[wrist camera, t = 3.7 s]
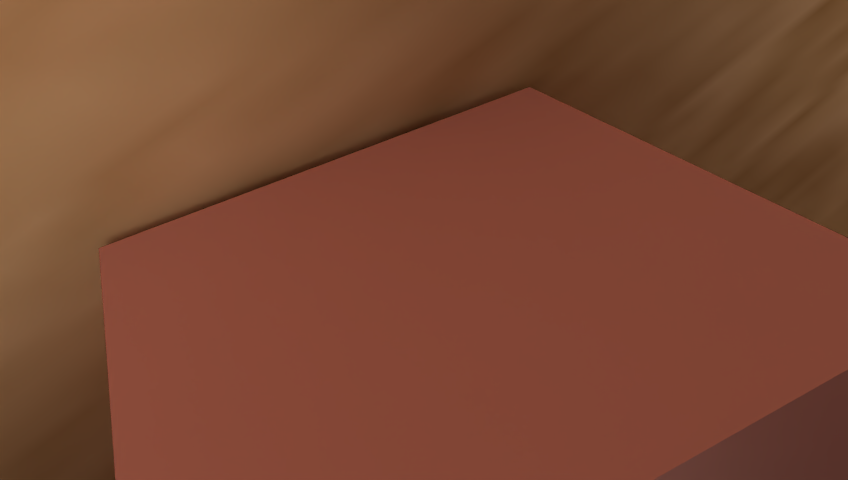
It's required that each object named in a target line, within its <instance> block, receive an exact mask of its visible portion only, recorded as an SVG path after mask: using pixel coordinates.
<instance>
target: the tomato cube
mask: <svg viewBox="0 0 848 480" xmlns="http://www.w3.org/2000/svg"><path fill="white" fill-rule="evenodd" d="M99 257H100V271H101V285H102V299H103V313H104V327H105V341H106V355H107V368H108V382H109V396H110V410H111V424H112V438H113V452H114V466H115V480H848V238H847V237H845V236H843V235H841V234H839V233H836V232H834V231H832V230H830V229H828V228H826V227H824V226H822V225H820V224H818V223H815V222H813V221H811V220H809V219H807V218H805V217H803V216H801V215H799V214H796V213H794V212H792V211H790V210H788V209H786V208H784V207H782V206H780V205H777V204H775V203H773V202H771V201H769V200H767V199H765V198H763V197H761V196H758V195H756V194H754V193H752V192H750V191H748V190H746V189H744V188H742V187H740V186H737V185H735V184H733V183H731V182H729V181H727V180H725V179H723V178H721V177H718V176H716V175H714V174H712V173H710V172H708V171H706V170H704V169H702V168H699V167H697V166H695V165H693V164H691V163H689V162H687V161H685V160H683V159H681V158H678V157H676V156H674V155H672V154H670V153H668V152H666V151H664V150H662V149H659V148H657V147H655V146H653V145H651V144H649V143H647V142H645V141H643V140H640V139H638V138H636V137H634V136H632V135H630V134H628V133H626V132H624V131H622V130H619V129H617V128H615V127H613V126H611V125H609V124H607V123H605V122H603V121H600V120H598V119H596V118H594V117H592V116H590V115H588V114H586V113H584V112H581V111H579V110H577V109H575V108H573V107H571V106H569V105H567V104H565V103H563V102H560V101H558V100H556V99H554V98H552V97H550V96H548V95H546V94H544V93H541V92H539V91H537V90H535V89H533V88H531V87H528V88H525V89H523V90H520V91H517V92H515V93H512V94H509V95H507V96H504V97H501V98H499V99H496V100H493V101H491V102H488V103H485V104H483V105H480V106H477V107H475V108H472V109H469V110H467V111H464V112H461V113H459V114H456V115H453V116H451V117H448V118H445V119H443V120H440V121H437V122H435V123H432V124H429V125H427V126H424V127H421V128H418V129H416V130H413V131H410V132H408V133H405V134H402V135H400V136H397V137H394V138H392V139H389V140H386V141H384V142H381V143H378V144H376V145H373V146H370V147H368V148H365V149H362V150H360V151H357V152H354V153H352V154H349V155H346V156H344V157H341V158H338V159H336V160H333V161H330V162H328V163H325V164H322V165H320V166H317V167H314V168H312V169H309V170H306V171H304V172H301V173H298V174H296V175H293V176H290V177H288V178H285V179H282V180H280V181H277V182H274V183H271V184H269V185H266V186H263V187H261V188H258V189H255V190H253V191H250V192H247V193H245V194H242V195H239V196H237V197H234V198H231V199H229V200H226V201H223V202H221V203H218V204H215V205H213V206H210V207H207V208H205V209H202V210H199V211H197V212H194V213H191V214H189V215H186V216H183V217H181V218H178V219H175V220H173V221H170V222H167V223H165V224H162V225H159V226H157V227H154V228H151V229H149V230H146V231H143V232H141V233H138V234H135V235H133V236H130V237H127V238H125V239H122V240H119V241H116V242H114V243H111V244H108V245H106V246H103V247H100V248H99Z"/></svg>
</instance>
